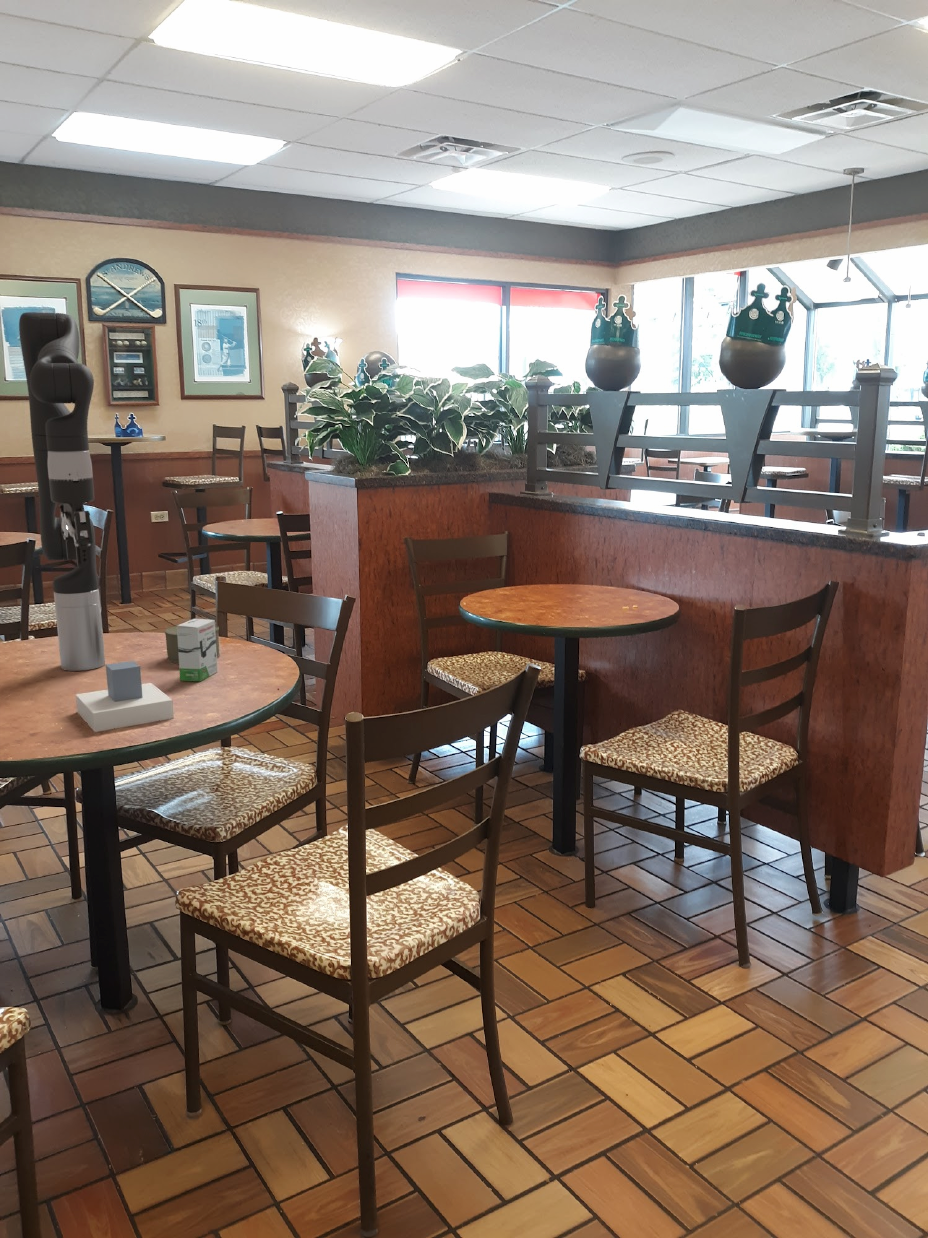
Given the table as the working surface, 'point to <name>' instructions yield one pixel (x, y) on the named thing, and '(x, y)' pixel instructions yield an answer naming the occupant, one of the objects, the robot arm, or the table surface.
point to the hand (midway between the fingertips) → (78, 562)
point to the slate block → (124, 681)
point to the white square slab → (124, 708)
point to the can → (173, 643)
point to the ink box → (197, 649)
